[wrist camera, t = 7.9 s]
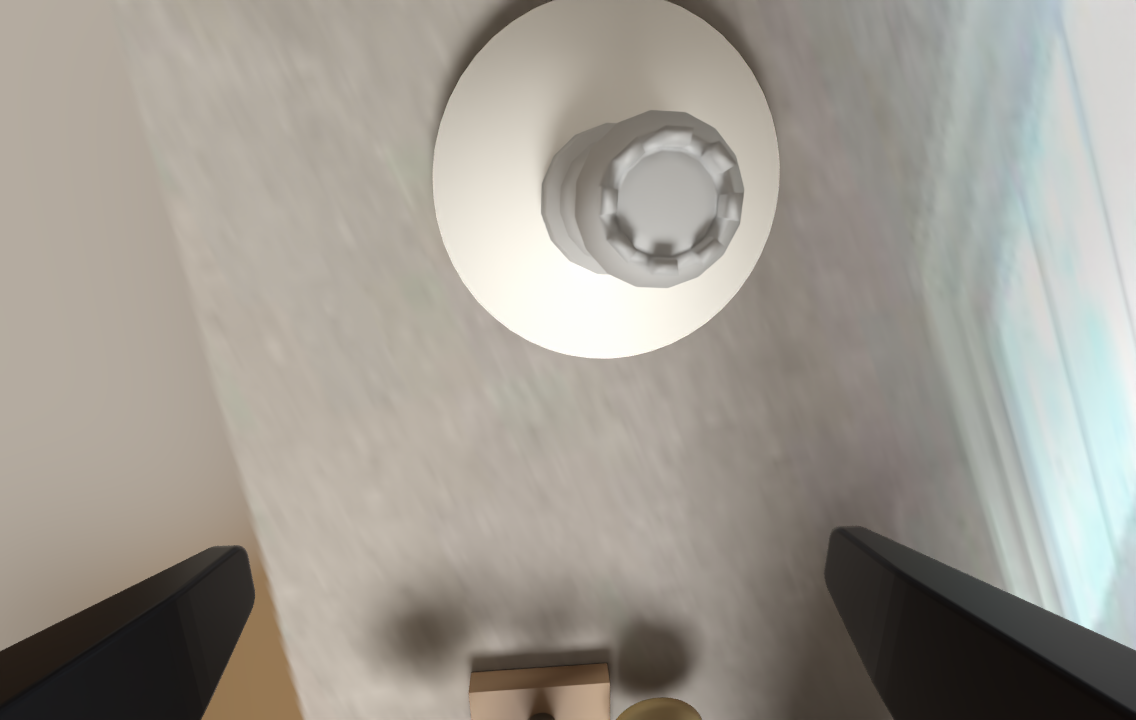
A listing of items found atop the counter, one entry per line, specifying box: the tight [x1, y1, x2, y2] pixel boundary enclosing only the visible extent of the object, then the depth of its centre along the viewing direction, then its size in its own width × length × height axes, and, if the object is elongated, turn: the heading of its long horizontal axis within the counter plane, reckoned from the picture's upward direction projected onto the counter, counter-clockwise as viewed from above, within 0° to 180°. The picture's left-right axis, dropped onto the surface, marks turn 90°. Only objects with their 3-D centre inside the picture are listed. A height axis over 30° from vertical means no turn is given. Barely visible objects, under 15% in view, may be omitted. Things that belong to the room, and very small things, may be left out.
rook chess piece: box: [541, 110, 744, 288], centre depth 13 cm, size 4×4×8 cm
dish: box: [433, 0, 780, 358], centre depth 17 cm, size 11×11×1 cm
